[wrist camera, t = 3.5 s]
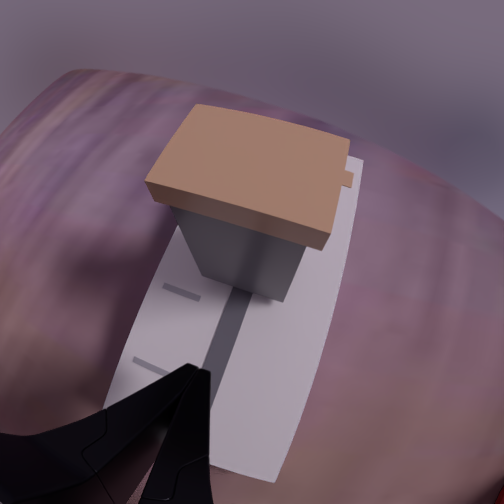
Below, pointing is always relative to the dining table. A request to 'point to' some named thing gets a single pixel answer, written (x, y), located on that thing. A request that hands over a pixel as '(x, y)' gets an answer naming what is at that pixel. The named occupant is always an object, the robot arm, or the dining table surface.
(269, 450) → the dimmer panel
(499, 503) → the canned food
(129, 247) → the dining table surface
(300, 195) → the slider handle
